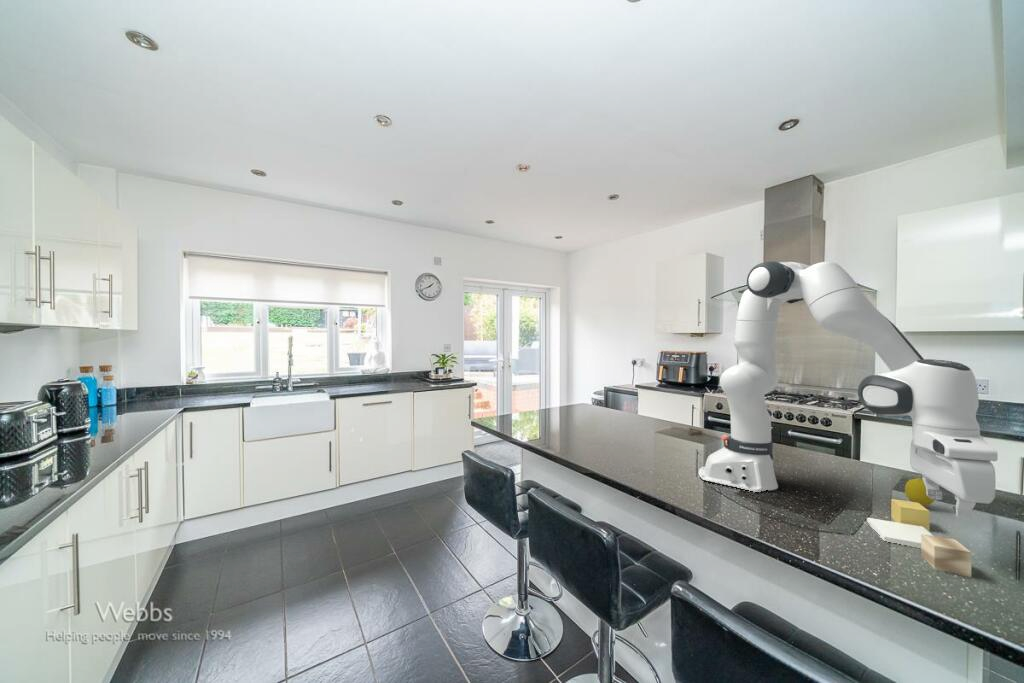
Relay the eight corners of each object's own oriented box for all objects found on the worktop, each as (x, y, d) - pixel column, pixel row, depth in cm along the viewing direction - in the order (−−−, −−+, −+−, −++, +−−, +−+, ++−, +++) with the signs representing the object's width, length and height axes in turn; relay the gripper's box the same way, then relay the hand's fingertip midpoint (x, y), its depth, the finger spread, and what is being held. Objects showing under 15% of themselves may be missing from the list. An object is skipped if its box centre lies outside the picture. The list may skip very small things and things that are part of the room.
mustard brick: (900, 526, 89) (900, 506, 89) (891, 518, 93) (891, 498, 93) (929, 531, 87) (929, 511, 87) (918, 522, 91) (918, 502, 91)
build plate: (884, 541, 82) (884, 536, 82) (867, 522, 91) (866, 517, 91) (947, 553, 78) (947, 547, 78) (922, 531, 87) (922, 526, 87)
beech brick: (934, 570, 72) (934, 545, 72) (921, 557, 77) (921, 533, 77) (971, 577, 70) (971, 552, 70) (955, 563, 74) (955, 539, 74)
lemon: (941, 512, 96) (941, 482, 96) (916, 510, 97) (916, 481, 97) (922, 503, 101) (922, 474, 101) (899, 501, 102) (898, 473, 102)
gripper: (898, 427, 84) (901, 486, 84) (952, 450, 66) (955, 526, 66) (937, 429, 81) (940, 491, 81) (1005, 455, 63) (1008, 534, 63)
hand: (947, 507), depth 73 cm, fingers open, 8 cm apart
